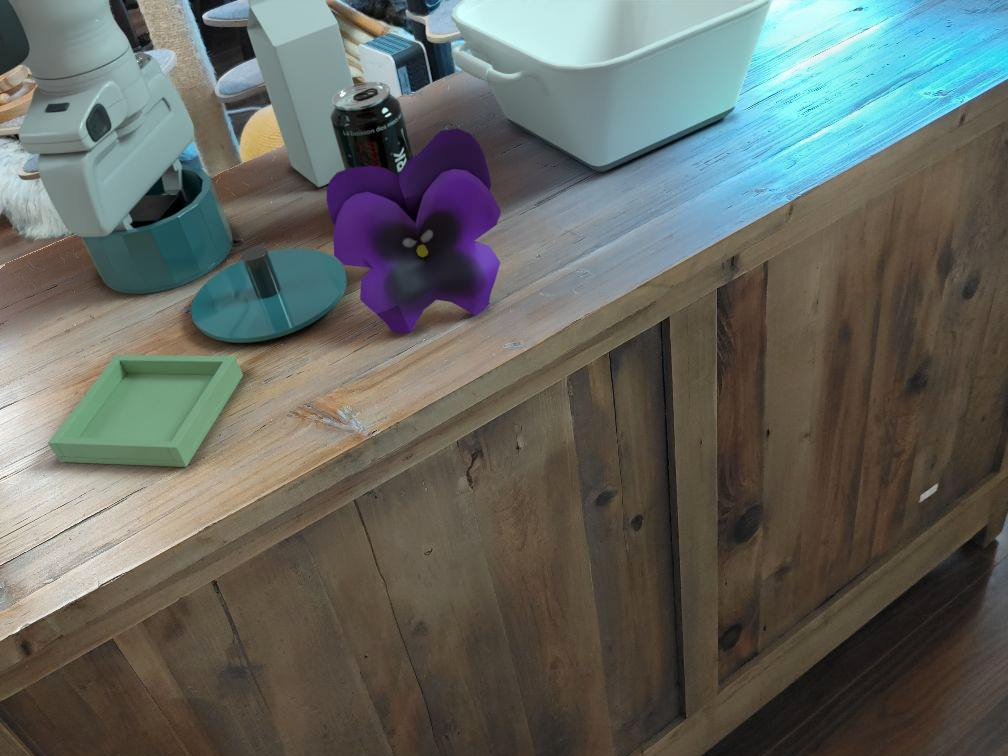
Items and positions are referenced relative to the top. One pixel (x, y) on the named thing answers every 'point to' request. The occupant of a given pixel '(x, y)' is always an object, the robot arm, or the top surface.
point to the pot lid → (268, 294)
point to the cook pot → (166, 243)
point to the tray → (147, 410)
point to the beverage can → (370, 127)
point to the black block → (155, 209)
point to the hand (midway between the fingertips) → (160, 229)
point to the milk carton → (302, 78)
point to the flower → (419, 230)
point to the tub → (610, 68)
